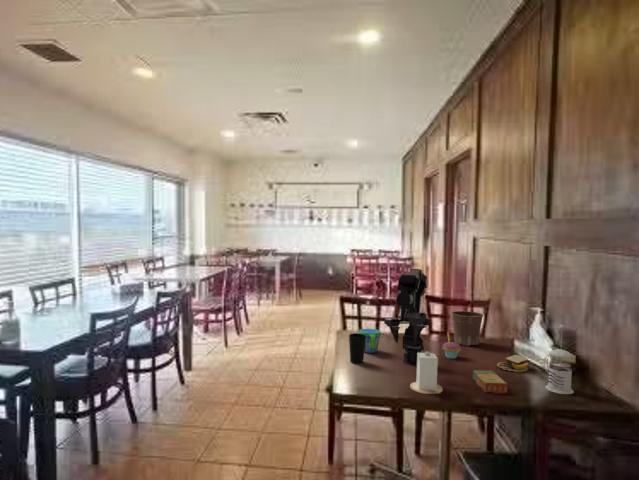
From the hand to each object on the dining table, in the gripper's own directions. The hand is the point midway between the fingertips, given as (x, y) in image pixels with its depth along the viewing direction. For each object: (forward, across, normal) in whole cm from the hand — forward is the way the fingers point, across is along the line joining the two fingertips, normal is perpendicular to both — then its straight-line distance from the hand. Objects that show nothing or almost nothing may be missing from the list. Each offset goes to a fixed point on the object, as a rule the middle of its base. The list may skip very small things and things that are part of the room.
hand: (406, 342), depth 186 cm
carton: (+14, +24, -22) cm, 35 cm away
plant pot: (+10, +60, +34) cm, 70 cm away
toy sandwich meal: (+12, +51, -7) cm, 53 cm away
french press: (+13, +47, -33) cm, 59 cm away
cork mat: (+14, -2, -17) cm, 22 cm away
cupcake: (+12, +35, +15) cm, 40 cm away
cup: (+13, -12, +21) cm, 27 cm away
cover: (+13, -2, -17) cm, 22 cm away
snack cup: (+12, +2, +35) cm, 37 cm away
